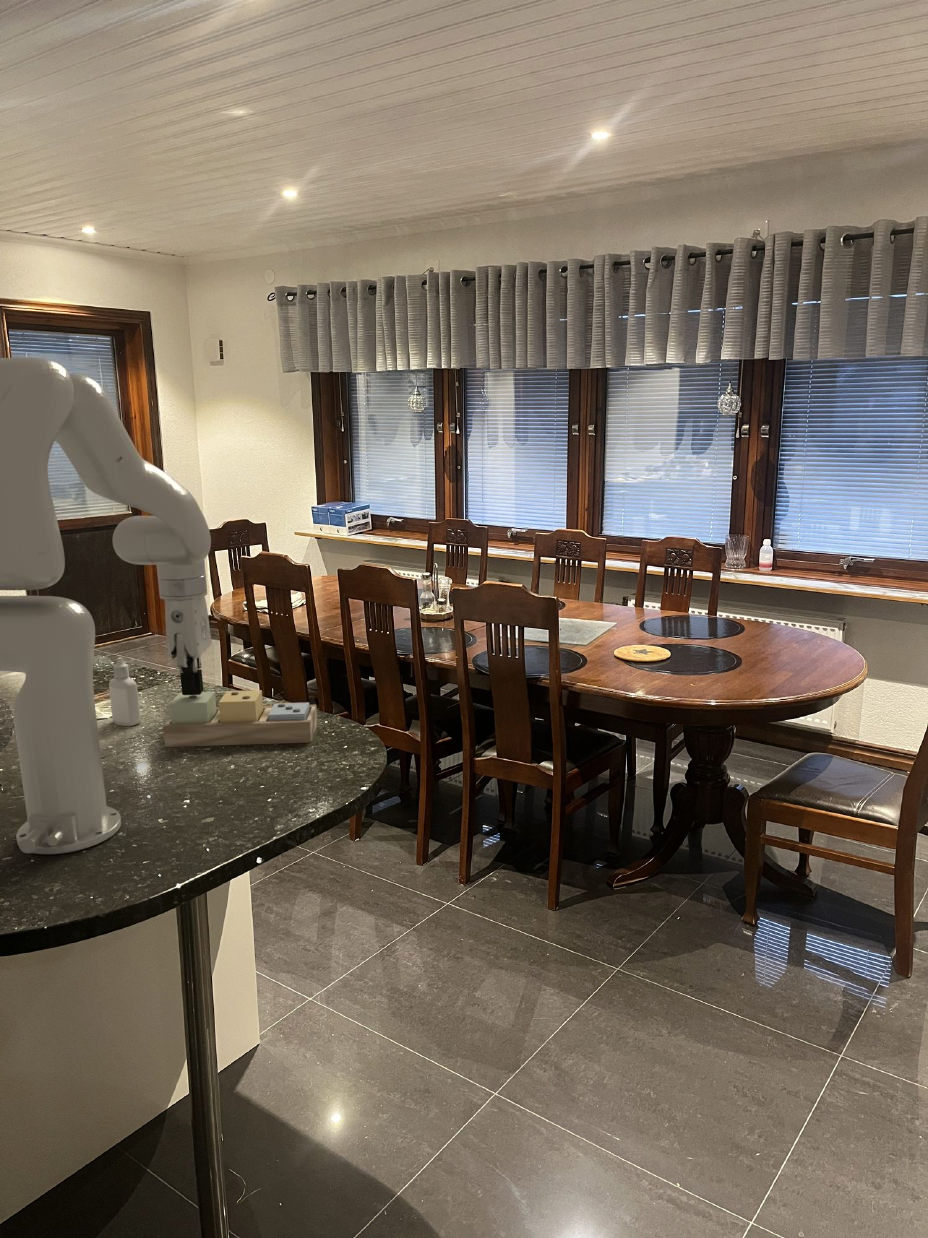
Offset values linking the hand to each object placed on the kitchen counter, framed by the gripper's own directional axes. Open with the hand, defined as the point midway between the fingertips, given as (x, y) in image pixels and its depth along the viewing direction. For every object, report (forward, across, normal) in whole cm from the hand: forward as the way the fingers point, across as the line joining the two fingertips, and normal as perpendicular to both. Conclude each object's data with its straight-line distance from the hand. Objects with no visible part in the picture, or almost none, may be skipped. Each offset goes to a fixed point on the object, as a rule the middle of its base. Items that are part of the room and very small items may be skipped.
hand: (192, 693), depth 150 cm
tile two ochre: (+4, 0, -8) cm, 9 cm away
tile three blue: (+7, 0, -16) cm, 17 cm away
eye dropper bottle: (+8, +8, +14) cm, 18 cm away
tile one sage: (+4, 0, 0) cm, 4 cm away
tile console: (+8, 0, -8) cm, 11 cm away
